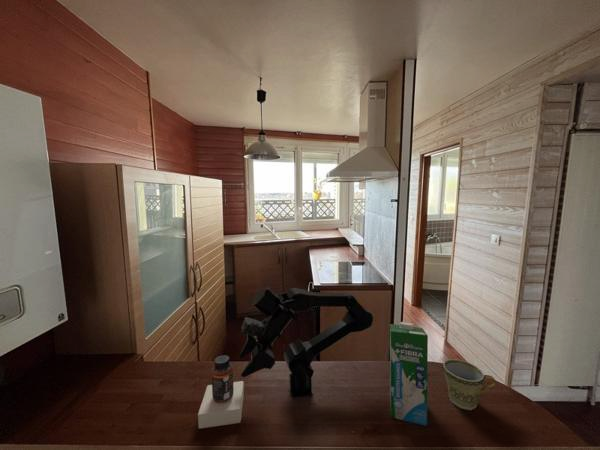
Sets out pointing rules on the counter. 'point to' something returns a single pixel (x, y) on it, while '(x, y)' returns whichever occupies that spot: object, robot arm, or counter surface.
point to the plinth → (221, 408)
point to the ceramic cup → (464, 383)
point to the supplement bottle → (222, 379)
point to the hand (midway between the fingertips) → (241, 366)
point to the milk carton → (408, 373)
